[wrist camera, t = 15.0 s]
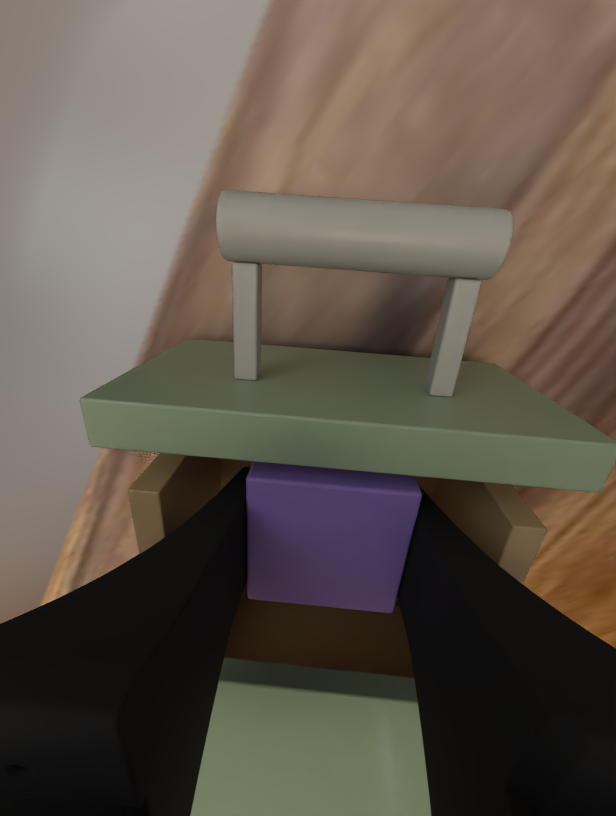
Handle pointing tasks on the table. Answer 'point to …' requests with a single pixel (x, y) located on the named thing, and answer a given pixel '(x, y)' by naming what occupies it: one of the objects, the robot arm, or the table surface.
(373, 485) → the cube
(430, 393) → the drawer
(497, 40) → the table surface
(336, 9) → the table surface
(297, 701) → the cabinet
